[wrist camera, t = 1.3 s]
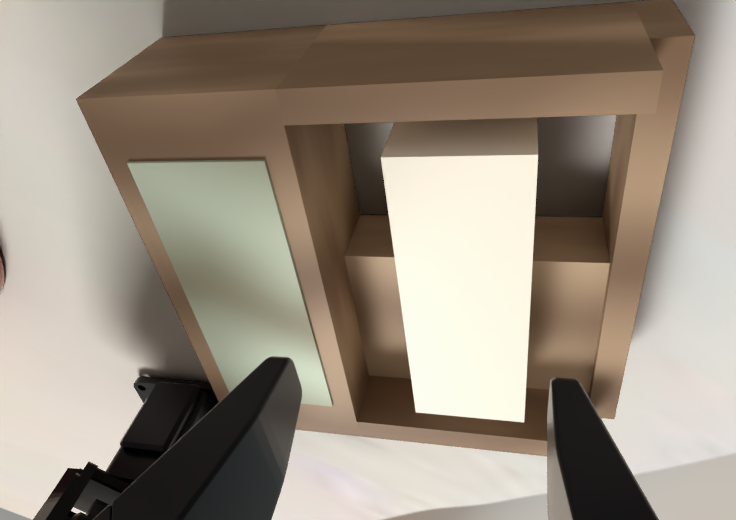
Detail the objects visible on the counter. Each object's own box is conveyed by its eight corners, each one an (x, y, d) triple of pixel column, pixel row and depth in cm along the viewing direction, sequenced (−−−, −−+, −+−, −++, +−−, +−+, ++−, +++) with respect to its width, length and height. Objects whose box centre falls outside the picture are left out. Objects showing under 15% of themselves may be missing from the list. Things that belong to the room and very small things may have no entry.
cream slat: (524, 371, 23) (523, 422, 21) (424, 364, 24) (415, 412, 22) (537, 112, 16) (538, 154, 14) (396, 117, 17) (380, 157, 15)
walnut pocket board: (606, 361, 25) (620, 466, 21) (267, 338, 29) (227, 424, 25) (671, -2, 16) (716, 69, 12) (161, 37, 20) (74, 100, 16)
